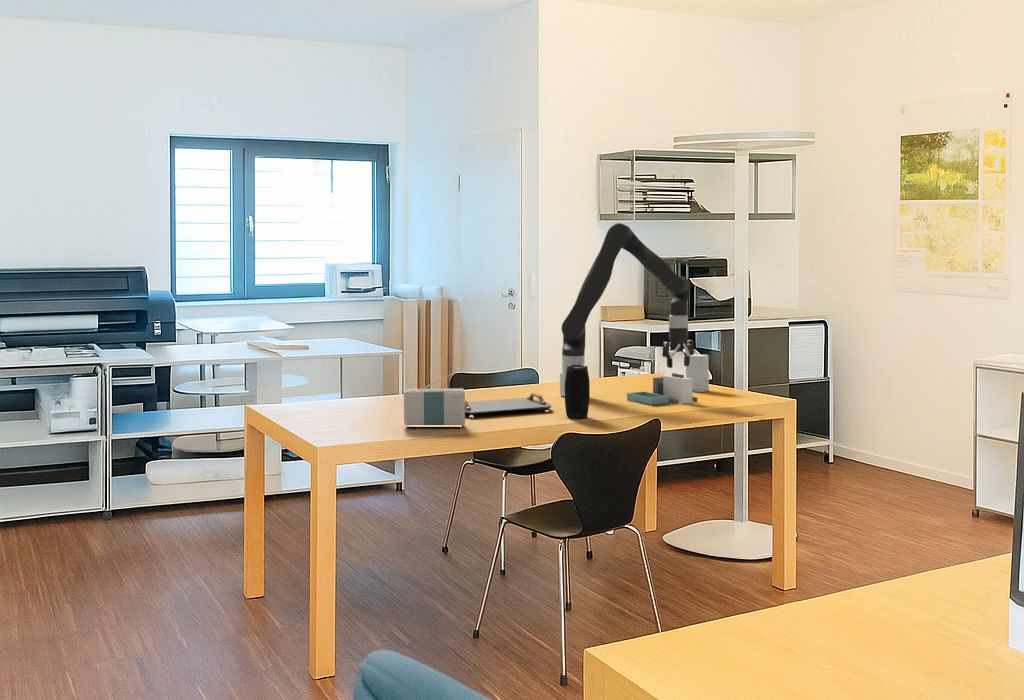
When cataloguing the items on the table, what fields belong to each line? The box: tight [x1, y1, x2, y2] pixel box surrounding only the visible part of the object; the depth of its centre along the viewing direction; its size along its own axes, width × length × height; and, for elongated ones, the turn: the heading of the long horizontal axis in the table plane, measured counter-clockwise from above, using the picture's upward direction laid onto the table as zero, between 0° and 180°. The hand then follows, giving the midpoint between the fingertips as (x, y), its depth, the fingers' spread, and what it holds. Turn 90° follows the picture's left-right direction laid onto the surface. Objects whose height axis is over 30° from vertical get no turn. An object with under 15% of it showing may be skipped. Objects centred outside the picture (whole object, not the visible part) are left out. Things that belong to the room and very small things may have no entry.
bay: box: [652, 376, 698, 405], centre depth 415 cm, size 11×15×9 cm
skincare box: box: [685, 353, 710, 393], centre depth 442 cm, size 8×7×16 cm
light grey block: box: [662, 372, 693, 405], centre depth 413 cm, size 5×12×11 cm, turn 31°
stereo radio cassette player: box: [403, 369, 466, 426], centre depth 358 cm, size 21×8×20 cm, turn 90°
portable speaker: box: [564, 365, 591, 419], centre depth 377 cm, size 8×9×19 cm
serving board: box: [465, 392, 552, 416], centre depth 392 cm, size 39×23×6 cm, turn 115°
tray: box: [626, 391, 670, 407], centre depth 412 cm, size 9×16×3 cm, turn 31°
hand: (678, 366), depth 412 cm, fingers open, 8 cm apart
